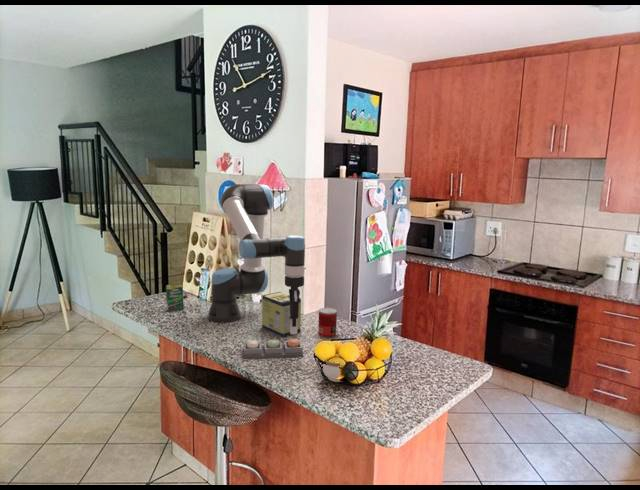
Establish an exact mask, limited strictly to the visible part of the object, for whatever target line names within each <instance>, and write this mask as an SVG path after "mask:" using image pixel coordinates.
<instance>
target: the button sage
mask: <svg viewBox="0 0 640 490" xmlns="http://www.w3.org/2000/svg"><path fill="white" fill-rule="evenodd" d="M267 342H268V348H279V342H280V341H279V340H278V339H269V340H267Z"/></svg>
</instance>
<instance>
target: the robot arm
mask: <svg viewBox="0 0 640 490" xmlns="http://www.w3.org/2000/svg"><path fill="white" fill-rule="evenodd" d="M220 206H221V209H222V212H223V213H224V214H225V215H227V216H228V219H229V220H230V222H231V224H232V227H233V229H234V231H235V232H236V234H237V237H238V238H239V241H238V242H239V243H238V252H239V256H240V258H241V259H243V263H242V264H241V265H240V267H239V268H240V269H239V271H238V270H237V269H236V268H234V267H229V268H228V267H227V268H226V267H225V268H221V269H218V270H216V271H214V272H213V273H212V275H211V283H210V284H211V305H210V307H209V310H208V320H210V321H212V322H215V323H231V322H235V321H237V320H239V319H241V310H240V308H239V304H238V301H237V300H238V299H237V296H244V295H253V294H255V295H256V294H260V293H263V292H265V291H266V289H268V288H267V287H268V284H269V277H268V276H269V274H268V271H267V270H266V269H265V266H264V265H263V264H262V262H263V258H275V257H276V258H278V257H283V258H284V260H285V261H284V275H285V276H284V285H285V287H289V289H288V295H289V299H290V316H291V317H289V319H290V334H291V335H297V334H298V333H297V320H298V316H299V315H298V309H299V298H300V294H301V291H300V289H299V288H301V287H303V286H304V285H305V276H304V275H305V270H306V268H307V267H306V266H305V253H306V251H305V250H306V243H305V242H306V241H305V237H304V236H302V235H297V234H295V235H294V234H293V235H287V236H281V235H279V236H276V237H271V238H270V237H269V238H267V237H266V238H264V229H265V228H264V227H265V217H266V216H267V215H268V214H269V210H272V209H273V206H274V198H273V192H272V190H271V188H270V187H269V186H268V185H266V184H260V183H253V184H251V183H250V184H249V183H248V184H246V183H243V184H240V183H239V184H233V185H230V186H229V187H227V188H226V189H225V190H224V191H223V193H222V195H221V197H220Z"/></svg>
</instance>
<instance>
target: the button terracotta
mask: <svg viewBox="0 0 640 490" xmlns="http://www.w3.org/2000/svg"><path fill="white" fill-rule="evenodd" d="M287 342H288V347H299V339H296V338H291V339H290V338H289V339H288V340H287Z"/></svg>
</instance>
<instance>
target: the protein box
mask: <svg viewBox="0 0 640 490" xmlns="http://www.w3.org/2000/svg"><path fill="white" fill-rule="evenodd" d="M261 298H262V299H261V301H262V302H261V304H262V305H261V307H262V309H261V314H262V316H261V326H262V329H264V330H265V331H269V332H271V333H273V334H276V335H278V336H280V337H282V338H285V337H287V336H290V335H292V334H290V319H289V317H291V316H290V299H289V293H284V292H282V291H276V292H272V293H268V294H264V295H263V294H262V297H261ZM301 306H302V298H300V297H299V309H298V315H299V316H298V320H297V334H298V333H300V332H301V328H302V327H301V320H302V318H301V316H302V314H301V313H302V307H301Z"/></svg>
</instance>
